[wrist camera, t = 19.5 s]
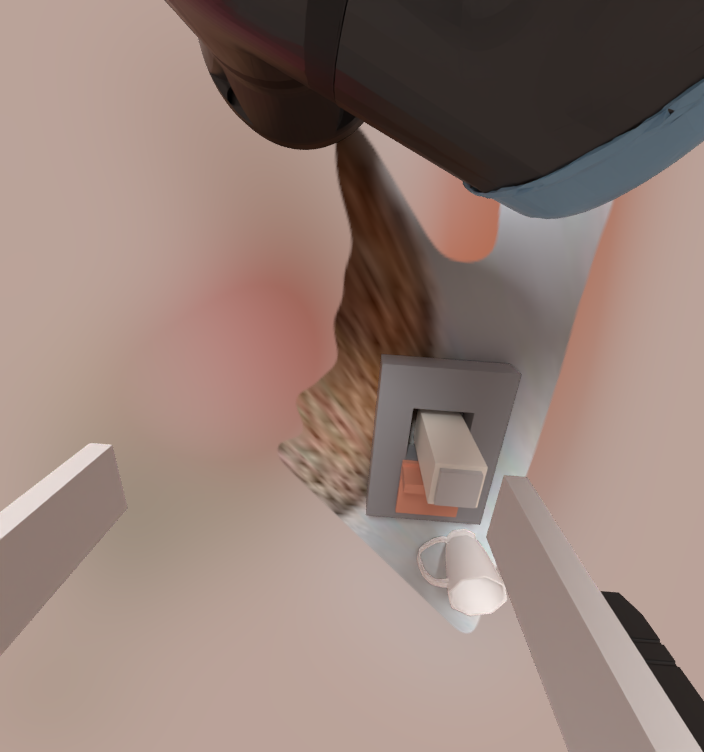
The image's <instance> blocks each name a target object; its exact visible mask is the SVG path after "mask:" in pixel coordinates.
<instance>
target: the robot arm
mask: <svg viewBox="0 0 704 752" xmlns="http://www.w3.org/2000/svg"><path fill="white" fill-rule="evenodd" d="M165 1H166V2H167V4H168V5H169V6H170V7H171V8H172V9H173V10H174V11H175V12H176V13H177V15H178V16H179V17H180V18H181V19H182V20H183V21H184V22H185V24H186V25H187V26H188V27H189V28H190V29H191V30H192V31H193V32H194V34H195V35H196V36H197V37H198V39H199V43H200V47H201V51H202V54H203V57H204V60H205V63H206V66H207V68H208V71H209V73H210V75H211V77H212V79H213V81H214V83H215V85H216V87H217V89H218V90H219V92H220V94H221V95H222V97H223V98H224V99H225V101H226V102H227V104H228V105H229V106H230V108H231V109H232V110H233V111H234V112H235V114H236V115H237V116H238V117H239V118H240V119H242V120H243V121H244V122H245V123H246V124H247V125H248V126H249V127H250V128H252V129H253V130H254V131H255V132H257V133H258V134H259V135H261V136H262V137H264V138H266V139H267V140H269V141H271V142H273V143H275V144H278V145H281V146H284V147H287V148H292V149H300V150H301V149H302V150H309V149H318V148H323V147H326V146H329V145H332V144H334V143H337V142H339V141H341V140H342V139H344V138H346V137H347V136H349V135H350V134H351V133H353V132H354V131H355V130H356V129H357V128H359V127H360V126H361V125H362V124H363V122H365V123H367V124H369V125H370V126H372V127H374V128H376V129H377V130H379V131H380V132H382V133H384V134H385V135H387V136H389V137H390V138H392V139H394V140H395V141H397V142H399V143H400V144H402V145H403V146H405V147H407V148H408V149H410V150H412V151H413V152H415V153H417V154H419V155H420V156H422V157H423V158H425V159H427V160H428V161H430V162H432V163H433V164H435V165H437V166H438V167H440V168H442V169H443V170H445V171H447V172H448V173H450V174H452V175H453V176H455V177H457V178H459V179H460V180H462V181H463V185H464V186H465V188H466V189H467V190H469V191H470V192H471V193H473V194H475V195H477V196H482V197H486V198H492V199H494V200H496V201H497V202H499V203H501V204H503V205H505V206H507V207H509V208H510V209H512V210H514V211H516V212H518V213H520V214H522V215H524V216H528V217H531V218H533V217H535V218H543V219H558V218H563V217H568V216H572V215H576V214H579V213H583V212H586V211H588V210H591V209H594V208H596V207H598V206H601V205H603V204H605V203H607V202H609V201H612V200H614V199H616V198H618V197H619V196H621V195H623V194H625V193H627V192H629V191H630V190H632V189H634V188H636V187H637V186H639V185H641V184H642V183H644V182H646V181H647V180H649V179H651V178H652V177H654V176H655V175H657V174H658V173H660V172H661V171H663V170H664V169H666V168H667V167H669V166H670V165H672V164H673V163H675V162H676V161H677V160H679V159H680V158H682V157H683V156H684V155H685V154H687V153H688V152H690V151H691V150H692V149H694V148H695V147H696V146H698V145H699V144H700V143H701V142H703V141H704V0H165ZM126 509H127V503H126V499H125V495H124V491H123V487H122V483H121V479H120V475H119V471H118V466H117V463H116V458H115V454H114V450H113V446H112V445H108V444H96V443H89V444H88V445H87V446H85V447H84V448H83V449H81V450H80V451H79V452H78V453H76V454H75V455H74V456H72V457H71V458H70V459H69V460H67V461H66V462H65V463H63V464H62V465H61V466H59V467H58V468H57V469H56V470H54V471H53V472H52V473H50V474H49V475H48V476H46V477H45V478H44V479H43V480H41V481H40V482H39V483H37V484H36V485H35V486H33V487H32V488H31V489H30V490H28V491H27V492H26V493H24V494H23V495H22V496H20V497H19V498H18V499H17V500H15V501H14V502H13V503H11V504H10V505H9V506H7V507H6V508H5V509H4V510H2V511H1V512H0V656H1V655H2V653H3V652H4V651H5V650H6V649H7V648H8V647H9V645H10V644H11V643H12V642H13V641H14V639H15V638H16V637H17V636H18V635H19V634H20V633H21V631H22V630H23V629H24V628H25V627H26V626H27V624H28V623H29V622H30V621H31V620H32V619H33V618H34V616H35V615H36V614H37V613H38V611H40V609H41V608H42V607H43V606H44V605H45V603H46V602H47V601H48V600H49V599H50V598H51V597H52V595H53V594H54V593H55V592H56V591H57V589H58V588H59V587H60V586H61V585H62V584H63V583H64V581H65V580H66V579H67V578H68V577H69V576H70V574H71V573H72V572H73V571H74V570H75V569H76V568H77V566H78V565H79V564H80V563H81V562H82V560H83V559H84V558H85V557H86V556H87V555H88V554H89V552H90V551H91V550H92V549H93V548H94V547H95V545H96V544H97V543H98V542H99V541H100V540H101V538H102V537H103V536H104V535H105V534H106V532H107V531H108V530H109V529H110V528H111V527H112V526H113V524H114V523H115V522H116V521H117V520H118V519H119V517H120V516H121V515H122V514H123V513H124V512H125V511H126ZM486 538H487V540H488V543H489V545H490V548H491V551H492V553H493V556H494V558H495V561H496V564H497V566H498V569H499V571H500V574H501V576H502V579H503V582H504V585H505V587H506V589H507V592H508V595H509V598H510V600H511V603H512V605H513V608H514V611H515V613H516V616H517V618H518V621H519V624H520V626H521V629H522V631H523V634H524V637H525V639H526V642H527V645H528V647H529V650H530V652H531V655H532V658H533V660H534V663H535V666H536V668H537V671H538V673H539V676H540V679H541V681H542V684H543V686H544V689H545V691H546V694H547V697H548V699H549V702H550V705H551V707H552V710H553V712H554V715H555V718H556V720H557V723H558V725H559V728H560V730H561V733H562V736H563V739H564V741H565V744H566V746H567V749H568V752H704V701H703V700H702V698H701V697H700V695H699V694H698V693H697V691H696V690H695V688H694V687H693V686H692V684H691V683H690V681H689V680H688V678H687V677H686V676H685V674H684V673H683V671H682V670H681V669H680V667H677V666H676V664H675V660H674V659H673V657H672V656H671V655H670V653H669V652H668V650H667V649H666V647H665V646H664V645H662V644H661V643H660V639H659V638H658V636H657V635H656V633H655V632H654V631H653V629H652V628H651V626H650V625H649V623H648V622H647V621H646V619H645V618H644V616H643V615H642V614H641V613H640V612H639V611H638V610H637V609H636V608H635V607H634V606H632V605H631V604H630V603H629V602H628V601H627V600H626V599H625V598H624V597H623V596H622V595H621V594H619V593H616V592H603V591H600V590H599V589H598V587H597V586H596V584H595V582H594V581H593V579H592V578H591V576H590V575H589V573H588V571H587V570H586V568H585V567H584V565H583V564H582V562H581V561H580V559H579V557H578V556H577V554H576V553H575V551H574V550H573V548H572V546H571V545H570V543H569V542H568V540H567V539H566V537H565V536H564V534H563V532H562V531H561V529H560V528H559V526H558V524H557V523H556V522H555V520H554V518H553V517H552V515H551V514H550V512H549V510H548V509H547V507H546V506H545V504H544V503H543V501H542V499H541V498H540V497H539V495H538V493H537V492H536V490H535V489H534V487H533V485H532V484H531V482H530V481H529V479H528V478H527V477H519V476H507V475H504V477H503V480H502V484H501V487H500V491H499V494H498V498H497V501H496V505H495V508H494V512H493V515H492V519H491V522H490V526H489V529H488V533H487V536H486Z"/></svg>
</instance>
